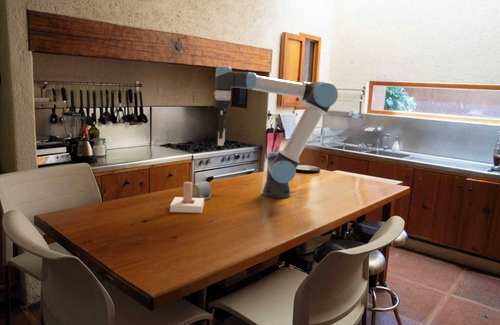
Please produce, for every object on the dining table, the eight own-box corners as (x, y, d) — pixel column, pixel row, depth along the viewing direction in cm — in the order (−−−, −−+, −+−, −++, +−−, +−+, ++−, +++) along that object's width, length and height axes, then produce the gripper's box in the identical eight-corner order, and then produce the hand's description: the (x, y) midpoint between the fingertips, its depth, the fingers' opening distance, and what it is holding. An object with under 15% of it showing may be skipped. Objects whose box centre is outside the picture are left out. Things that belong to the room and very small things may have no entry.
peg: (192, 206, 193) (192, 181, 191) (191, 209, 189) (191, 183, 187) (183, 206, 193) (184, 181, 191) (182, 208, 189) (183, 183, 187)
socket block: (204, 204, 198) (204, 198, 198) (201, 212, 184) (201, 206, 184) (174, 203, 198) (175, 197, 197) (169, 211, 184) (170, 205, 183)
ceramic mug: (189, 196, 211) (190, 181, 209) (202, 193, 217) (203, 179, 215) (201, 201, 203) (202, 186, 202) (214, 198, 209) (215, 184, 207)
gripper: (216, 98, 209) (215, 139, 213) (213, 100, 185) (211, 146, 189) (231, 99, 209) (229, 140, 213) (229, 100, 185) (228, 147, 189)
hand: (221, 143), depth 201 cm, fingers open, 13 cm apart
